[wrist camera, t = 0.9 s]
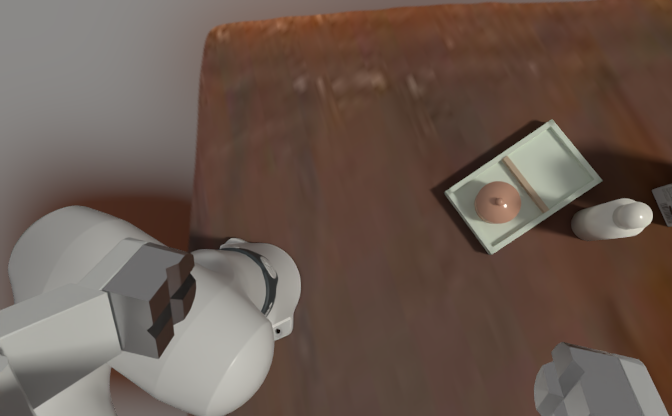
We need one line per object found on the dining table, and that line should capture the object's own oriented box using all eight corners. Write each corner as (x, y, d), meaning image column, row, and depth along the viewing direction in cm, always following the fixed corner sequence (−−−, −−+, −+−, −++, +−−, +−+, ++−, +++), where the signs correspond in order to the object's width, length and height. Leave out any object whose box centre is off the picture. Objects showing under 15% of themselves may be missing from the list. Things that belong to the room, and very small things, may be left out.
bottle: (585, 247, 66) (634, 243, 52) (564, 220, 67) (607, 209, 53) (612, 229, 66) (670, 220, 52) (591, 202, 67) (642, 186, 53)
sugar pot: (487, 233, 68) (495, 231, 63) (463, 201, 69) (469, 195, 64) (521, 211, 68) (532, 206, 62) (496, 178, 69) (505, 171, 64)
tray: (489, 254, 68) (492, 254, 66) (443, 193, 70) (445, 191, 68) (596, 183, 67) (603, 180, 65) (547, 123, 69) (552, 118, 67)
